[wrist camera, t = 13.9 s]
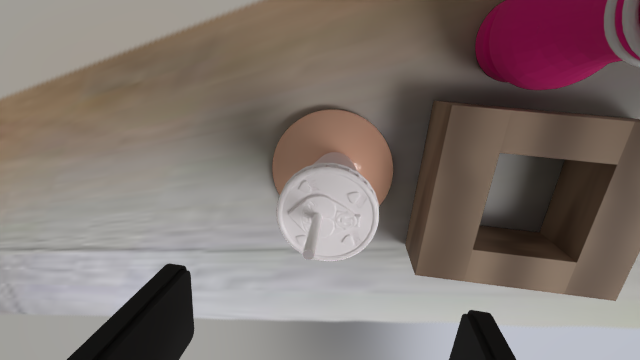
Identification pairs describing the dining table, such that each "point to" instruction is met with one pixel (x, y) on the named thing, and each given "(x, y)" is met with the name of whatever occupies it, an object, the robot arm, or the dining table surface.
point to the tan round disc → (334, 148)
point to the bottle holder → (563, 212)
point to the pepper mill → (557, 40)
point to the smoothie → (328, 209)
